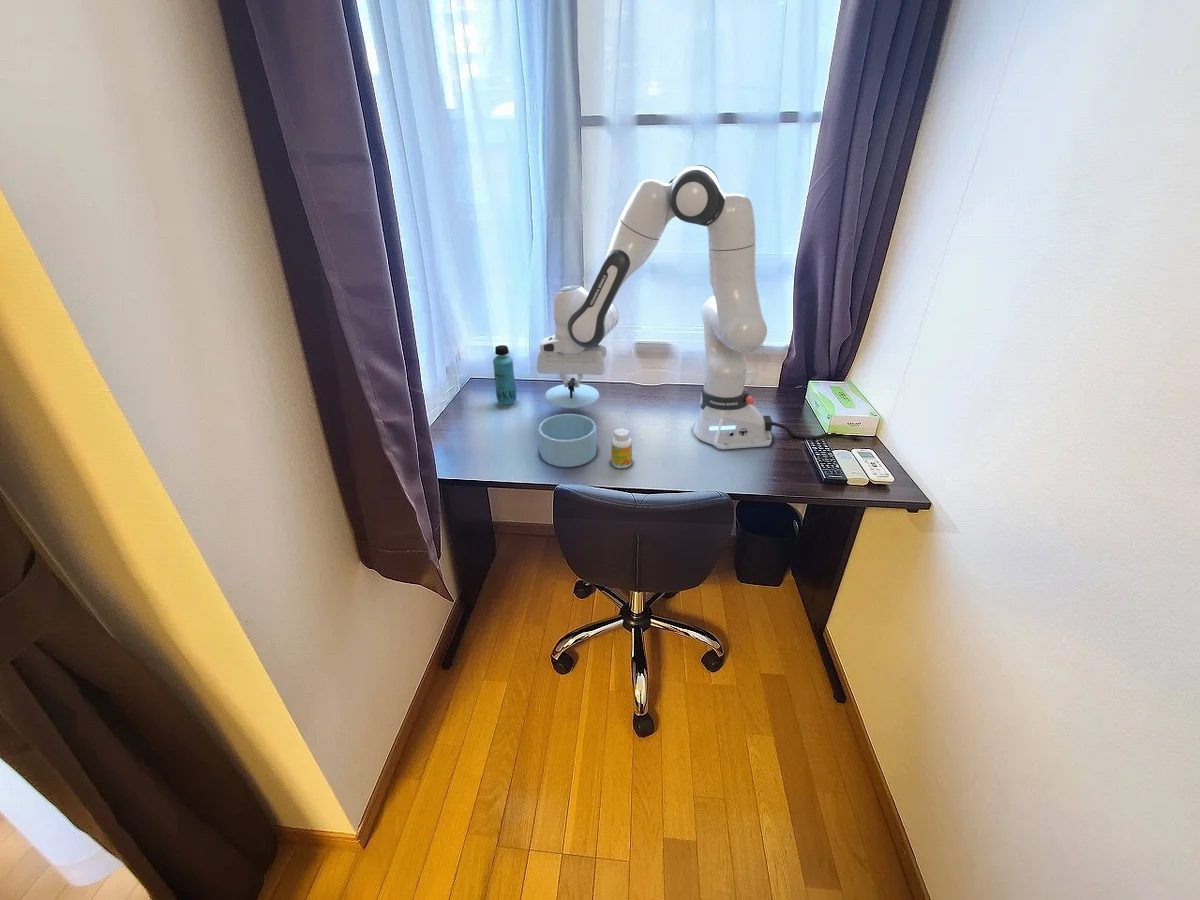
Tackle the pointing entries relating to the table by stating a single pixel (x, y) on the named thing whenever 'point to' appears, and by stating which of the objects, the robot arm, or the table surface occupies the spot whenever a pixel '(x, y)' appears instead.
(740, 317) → the robot arm
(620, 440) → the supplement bottle
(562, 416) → the pot
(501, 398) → the beverage bottle
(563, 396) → the lid
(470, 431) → the table surface
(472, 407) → the table surface
